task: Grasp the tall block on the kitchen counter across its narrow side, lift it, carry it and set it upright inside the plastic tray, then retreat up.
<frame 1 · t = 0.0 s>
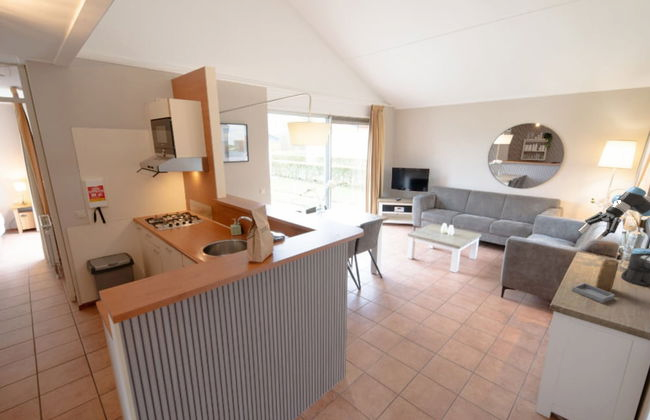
hand: (588, 235, 182), 36 cm above the table, tool tilted 35°, fingers open, 13 cm apart
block: (603, 289, 190), on the table
tray: (592, 294, 183), on the table
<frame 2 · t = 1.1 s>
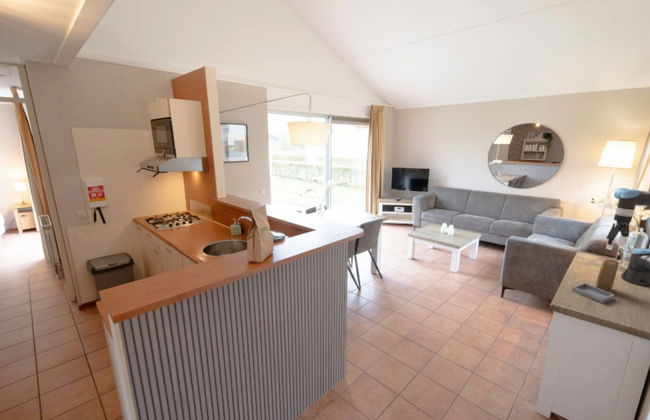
hand: (614, 247, 182), 29 cm above the table, tool pointing down, fingers open, 13 cm apart
nothing on the table moved.
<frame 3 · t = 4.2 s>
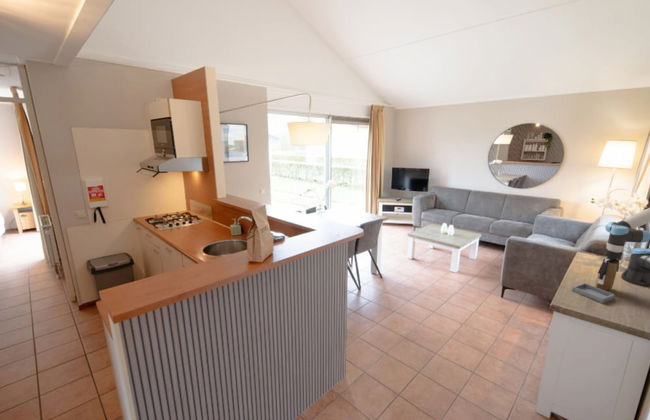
hand: (605, 281, 188), 5 cm above the table, tool pointing down, fingers closed on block, 11 cm apart
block: (603, 289, 190), on the table, touching gripper
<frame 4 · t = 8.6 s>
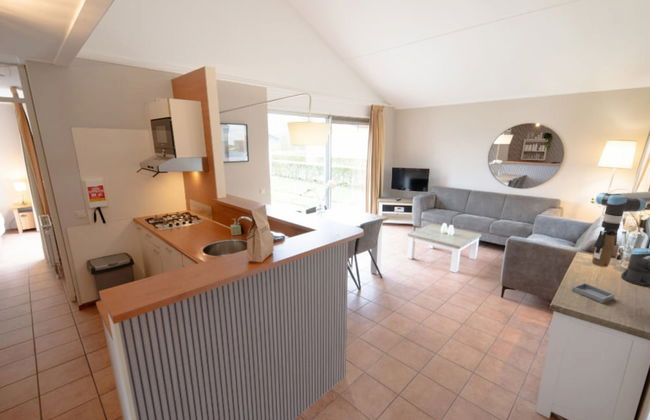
hand: (602, 256, 176), 26 cm above the table, tool pointing down, fingers closed on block, 11 cm apart
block: (600, 264, 178), point 21 cm above the table, touching gripper
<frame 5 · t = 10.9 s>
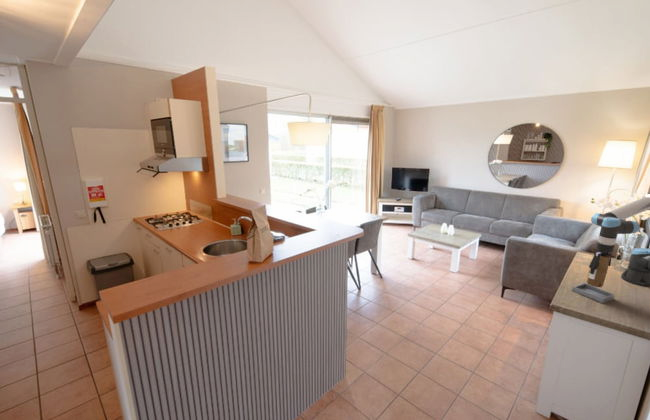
hand: (596, 276, 180), 13 cm above the table, tool pointing down, fingers closed on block, 11 cm apart
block: (594, 284, 181), point 7 cm above the table, touching gripper
when the fingers open (7 cm above the table, at t = 13.1 s): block drops 1 cm, resting on tray.
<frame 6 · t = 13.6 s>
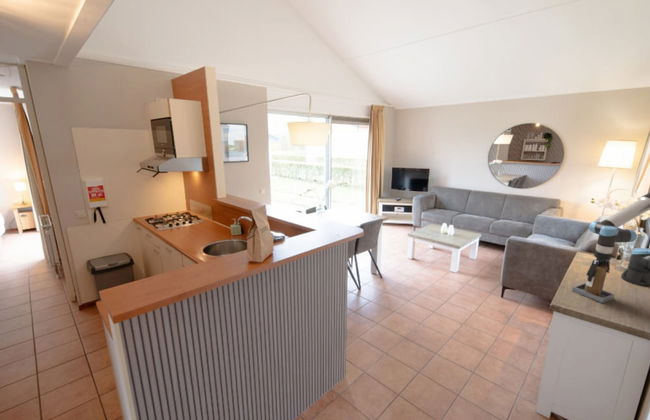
hand: (595, 283, 181), 8 cm above the table, tool pointing down, fingers open, 13 cm apart
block: (592, 293, 183), point 1 cm above the table, touching tray
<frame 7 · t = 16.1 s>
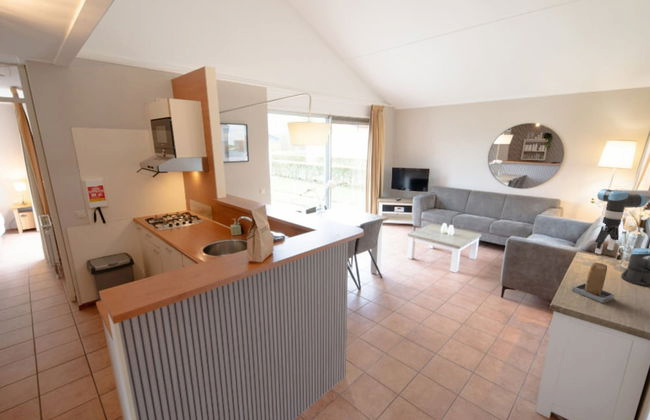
hand: (603, 251, 176), 29 cm above the table, tool pointing down, fingers open, 13 cm apart
nothing on the table moved.
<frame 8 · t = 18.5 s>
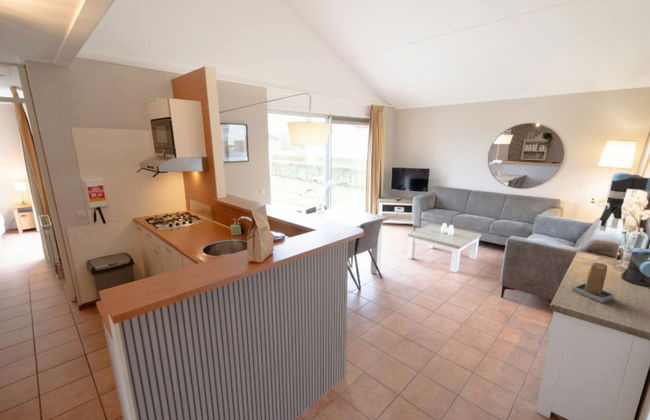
hand: (607, 229, 192), 37 cm above the table, tool pointing down, fingers open, 13 cm apart
nothing on the table moved.
at the end: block 0.2 cm off-centre on the tray, point 0.6 cm above the tray's base; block tilted 2°; the gripper is holding nothing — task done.
